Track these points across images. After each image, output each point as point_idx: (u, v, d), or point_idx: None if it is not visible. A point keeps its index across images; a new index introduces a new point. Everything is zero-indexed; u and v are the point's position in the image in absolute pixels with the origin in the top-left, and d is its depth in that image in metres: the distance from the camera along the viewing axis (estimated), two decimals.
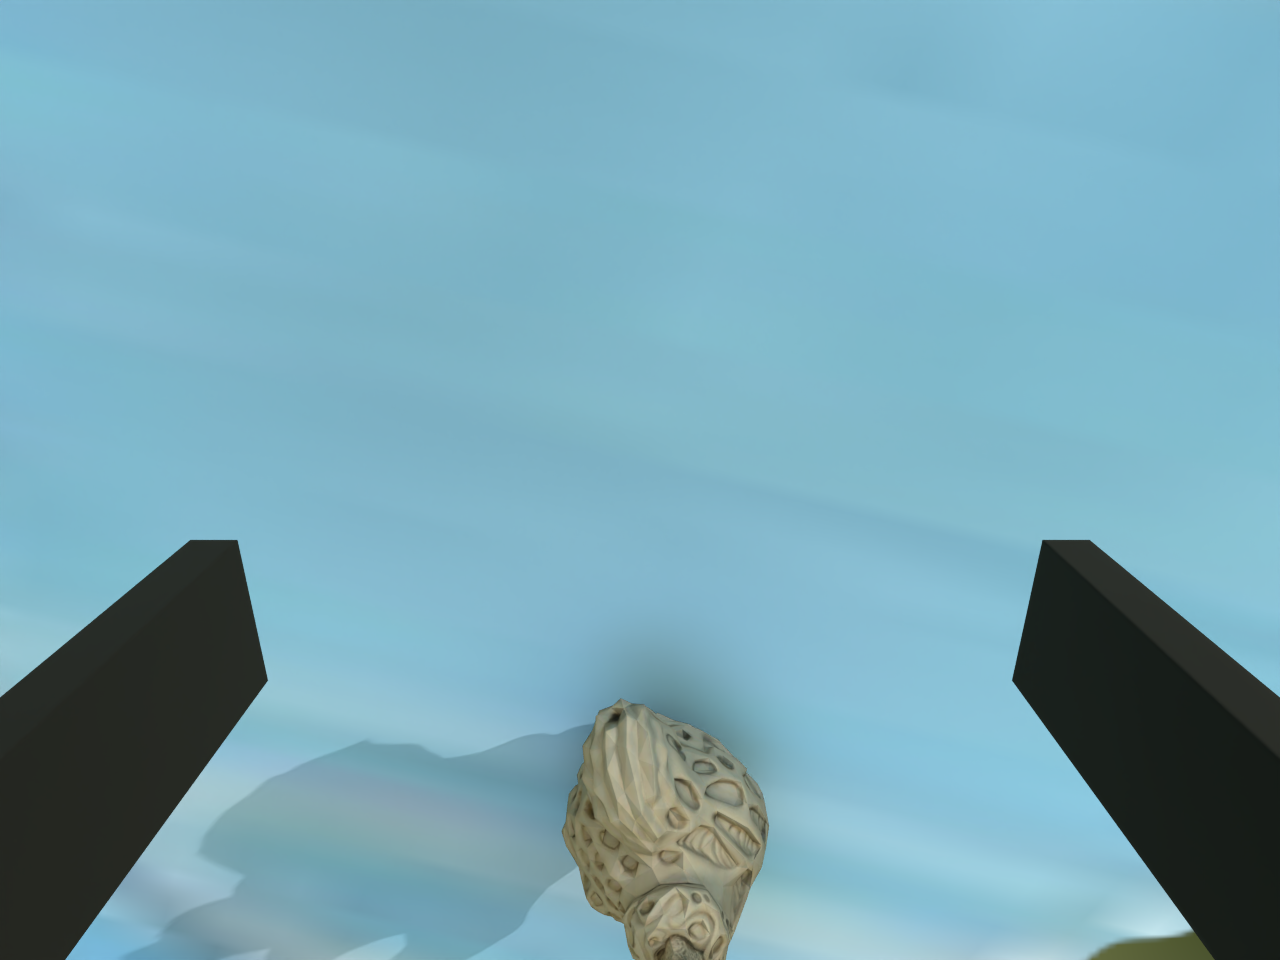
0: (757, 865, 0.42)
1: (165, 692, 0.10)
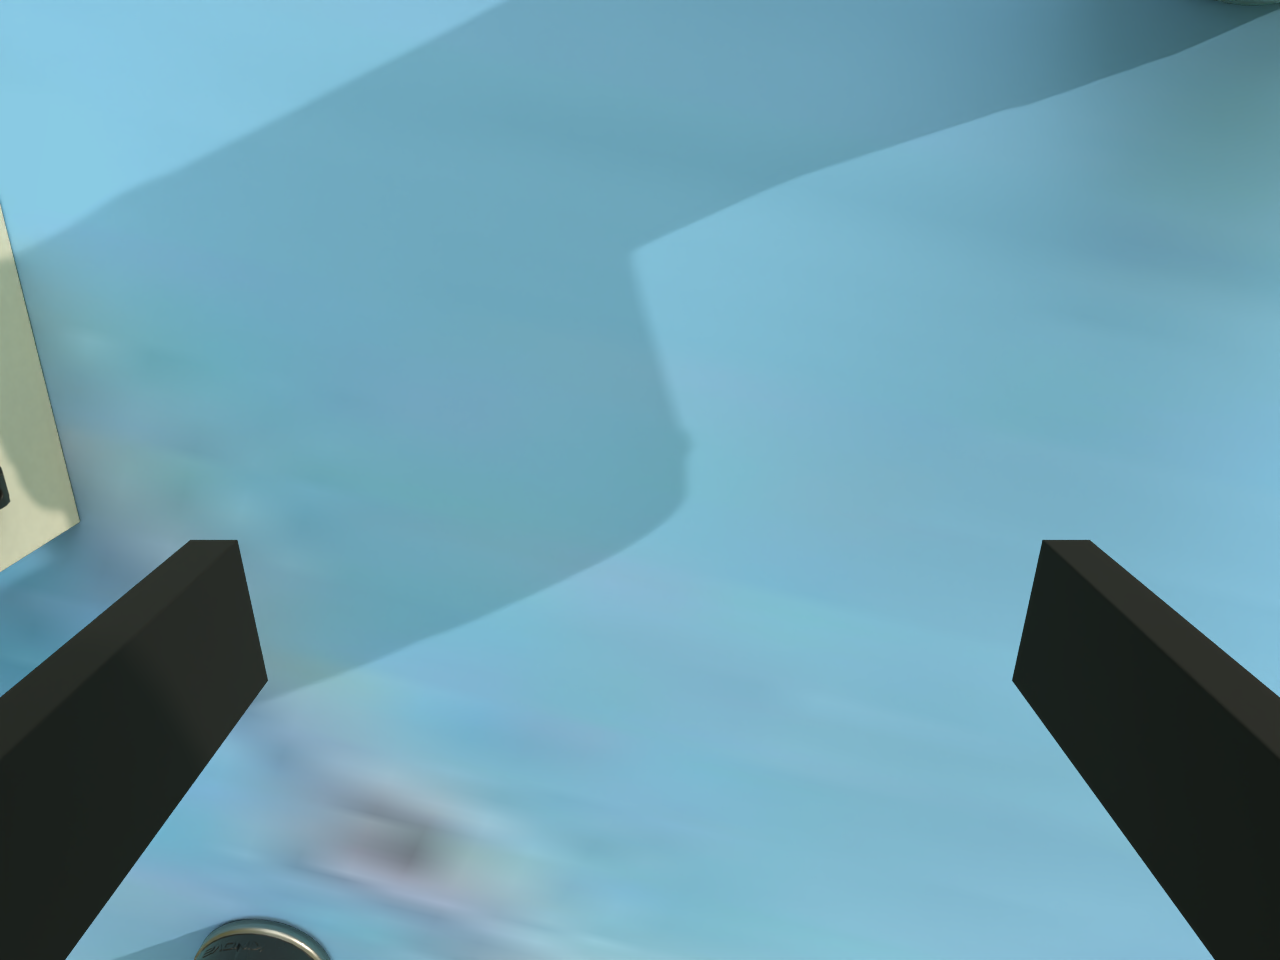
0: None
1: (165, 692, 0.10)
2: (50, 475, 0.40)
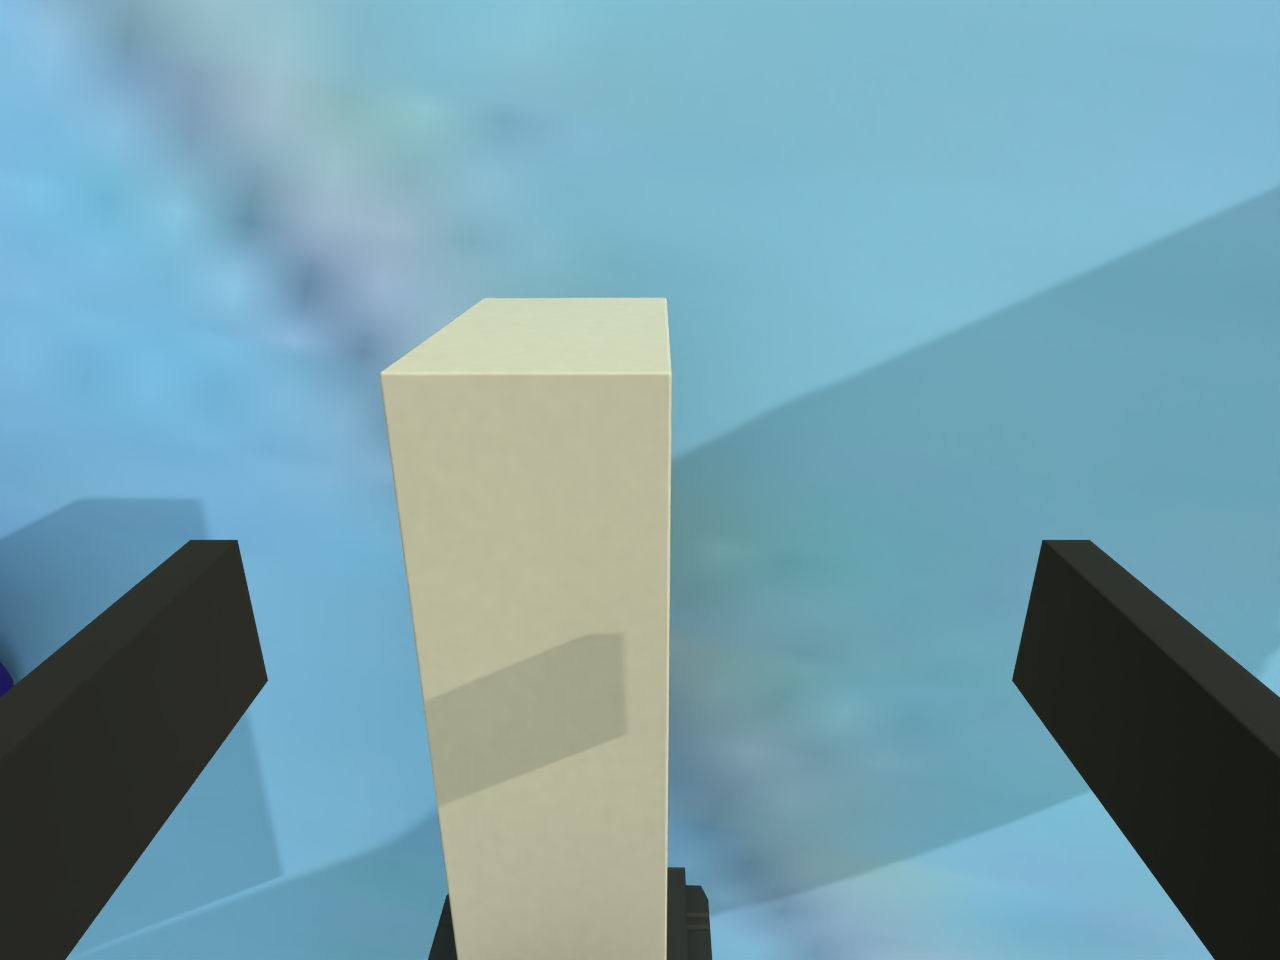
0: None
1: (165, 692, 0.10)
2: None
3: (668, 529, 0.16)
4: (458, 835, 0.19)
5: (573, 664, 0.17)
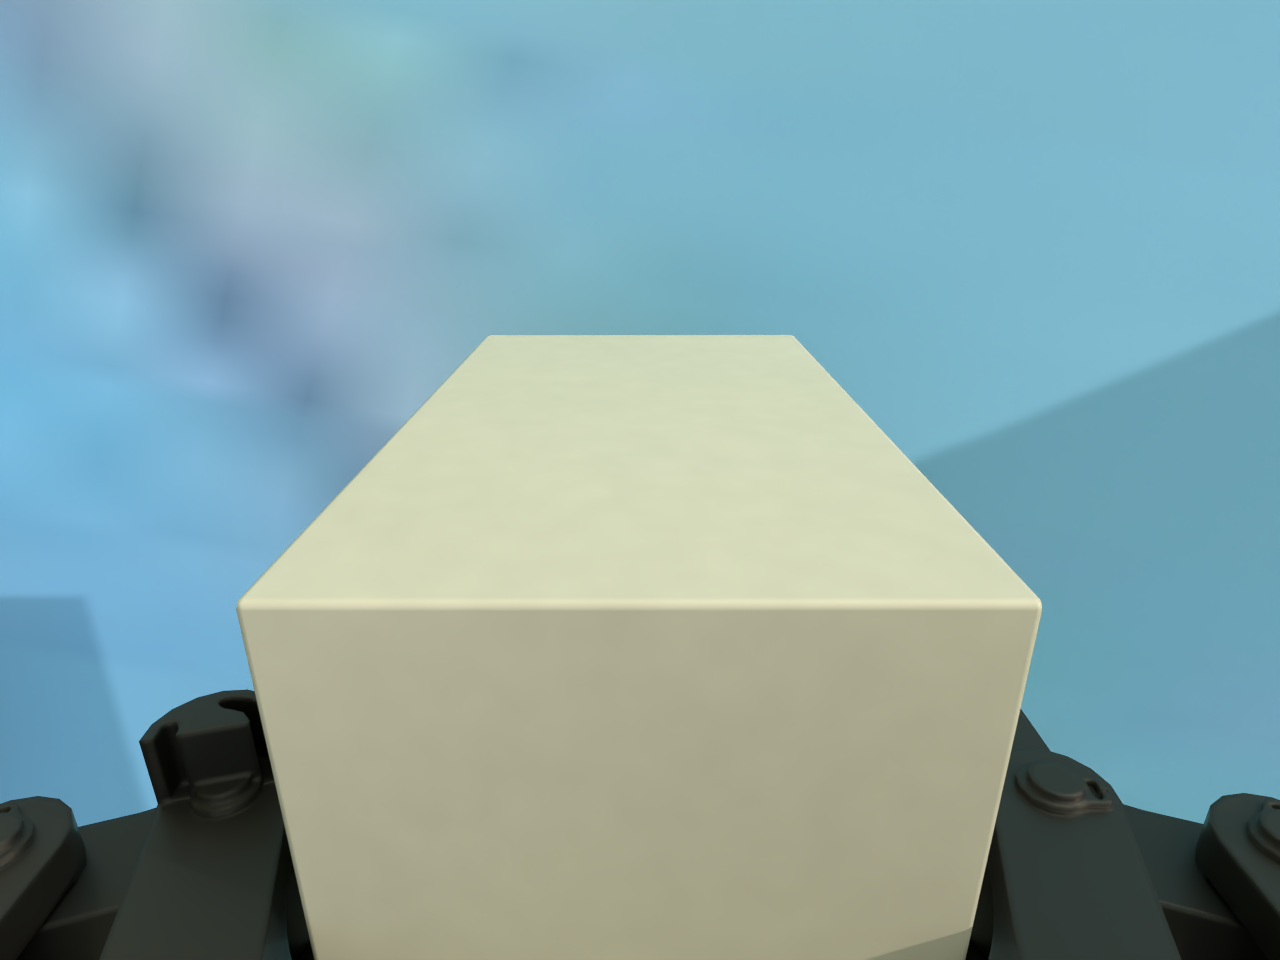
0: None
1: None
2: None
3: (968, 943, 0.06)
4: None
5: None
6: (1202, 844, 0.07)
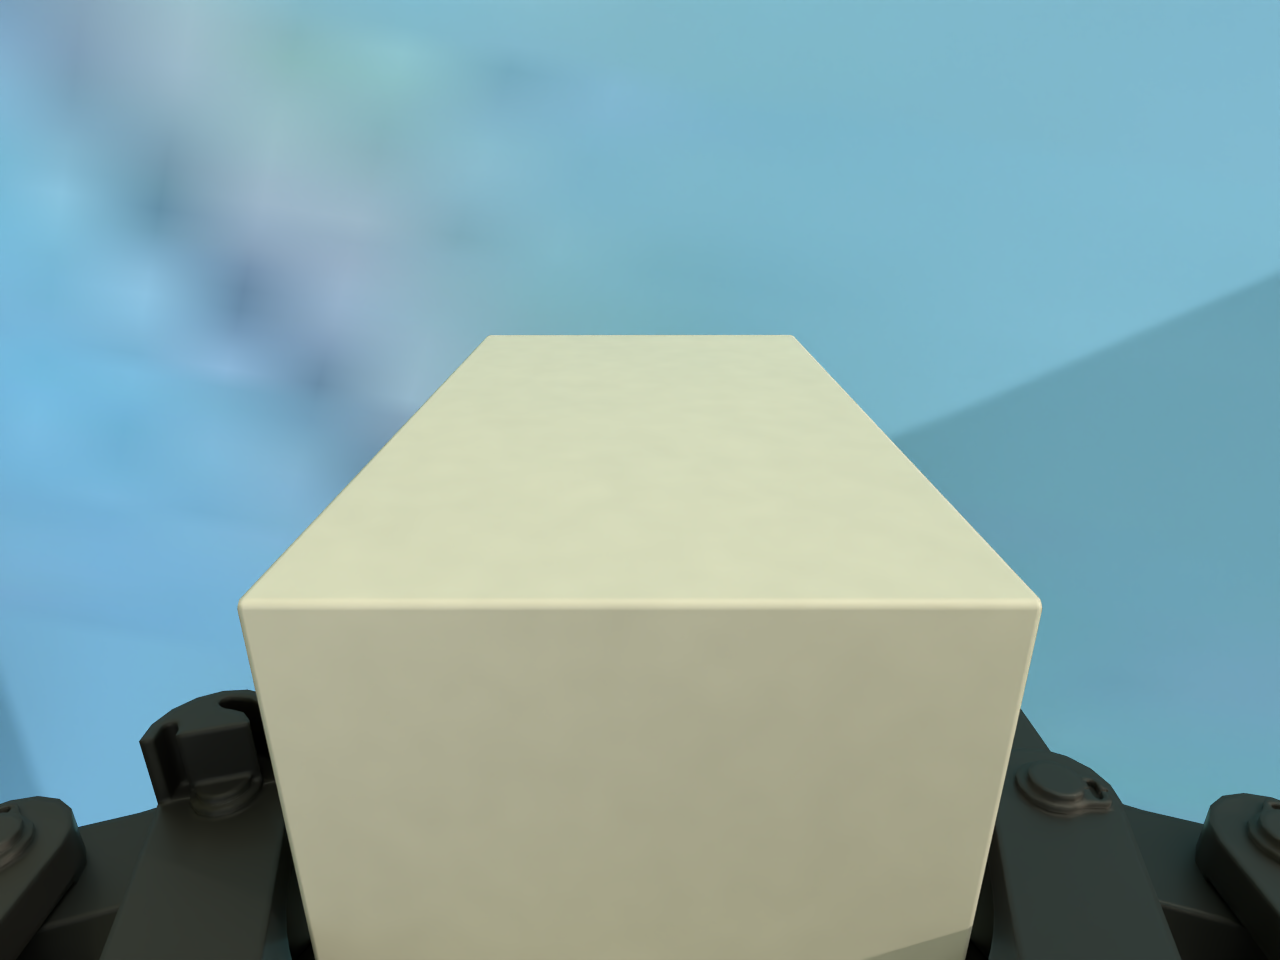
0: None
1: None
2: None
3: (968, 942, 0.06)
4: None
5: None
6: (1201, 844, 0.07)
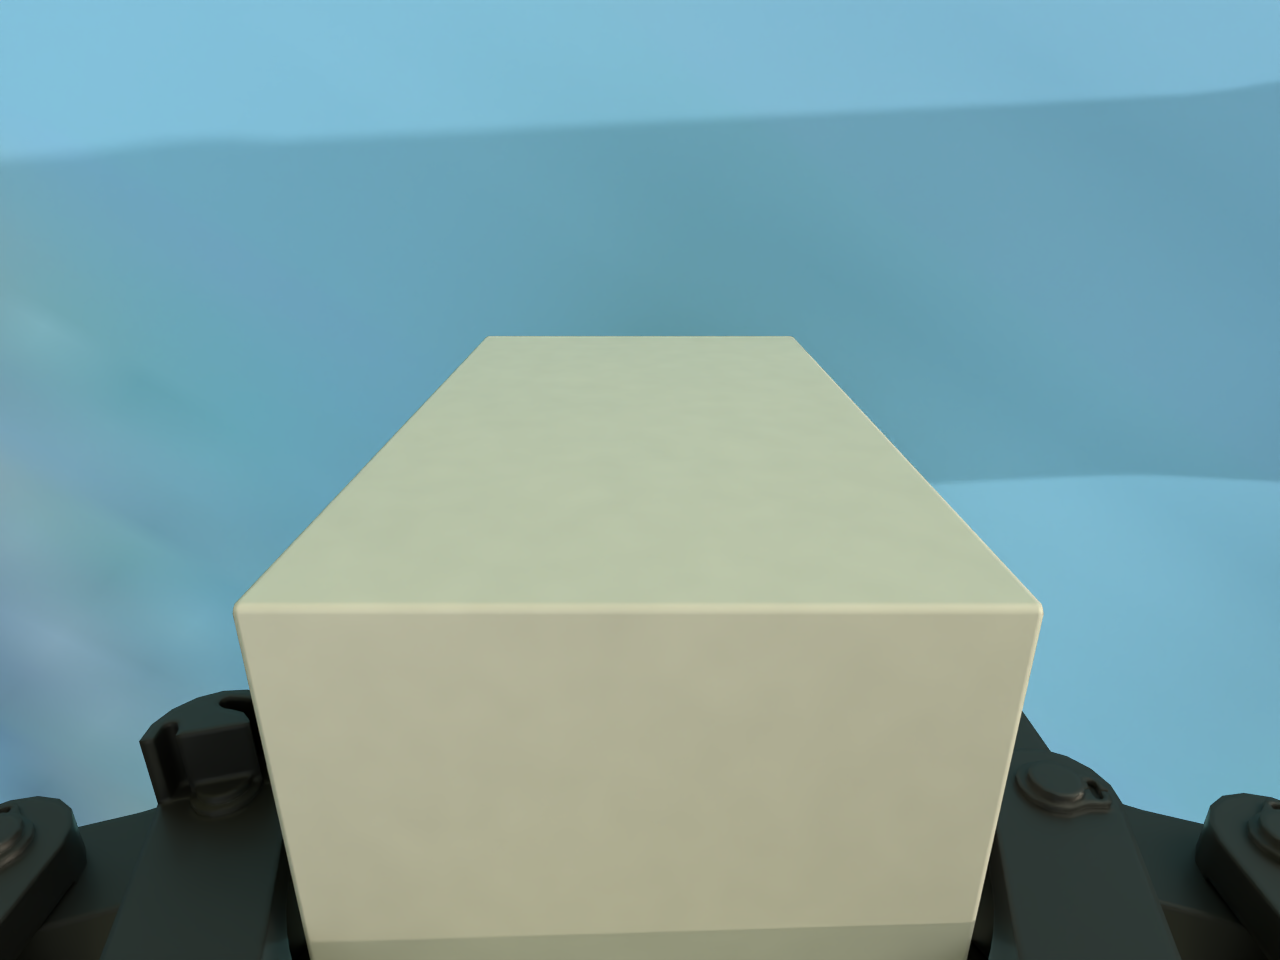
0: None
1: None
2: None
3: None
4: None
5: None
6: (1201, 844, 0.07)
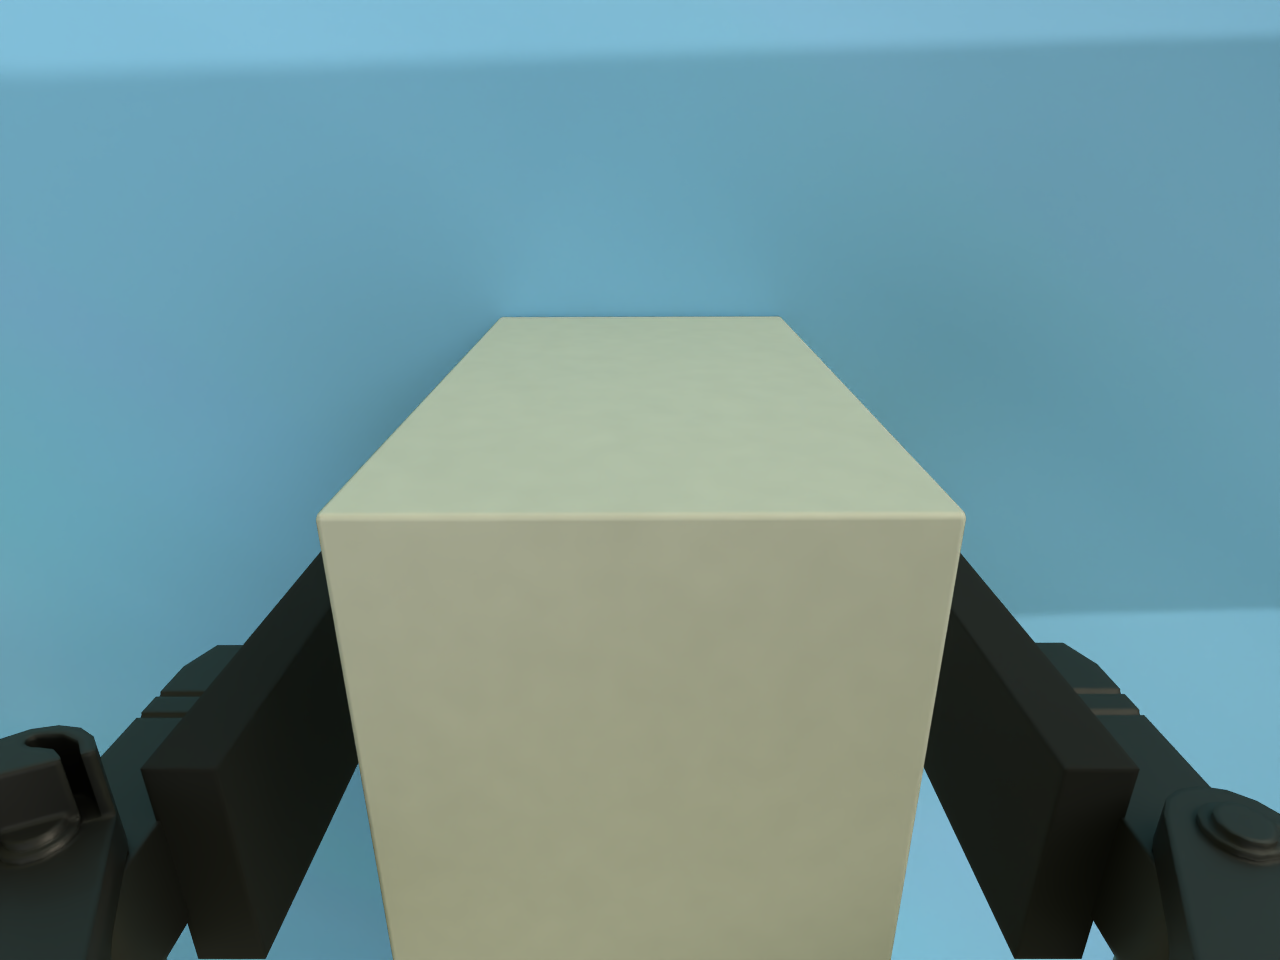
0: None
1: None
2: None
3: (915, 810, 0.08)
4: None
5: None
6: None
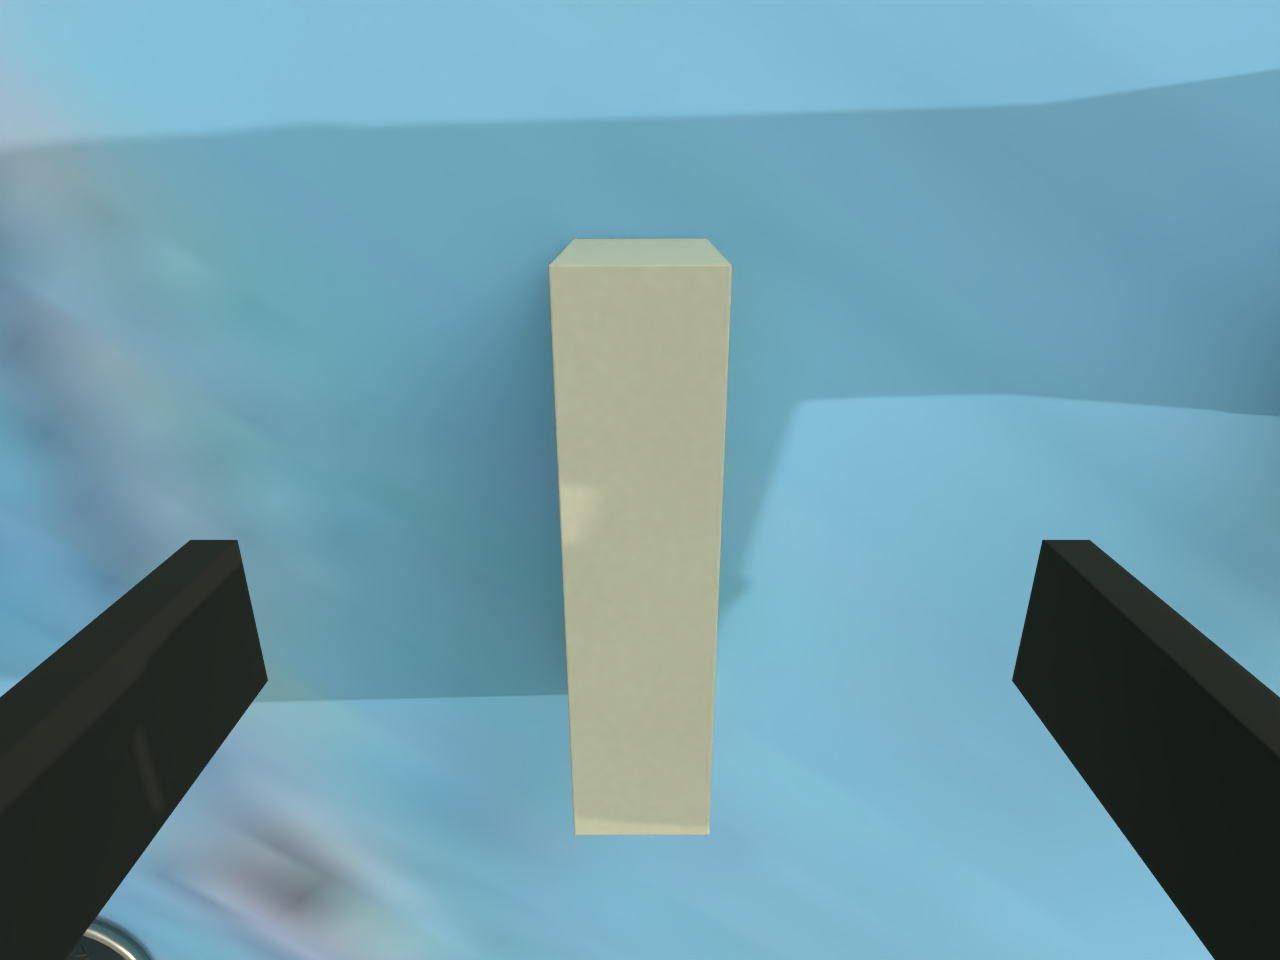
0: None
1: (165, 692, 0.10)
2: None
3: (726, 370, 0.24)
4: (576, 597, 0.27)
5: (661, 467, 0.26)
6: None
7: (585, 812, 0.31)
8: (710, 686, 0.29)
